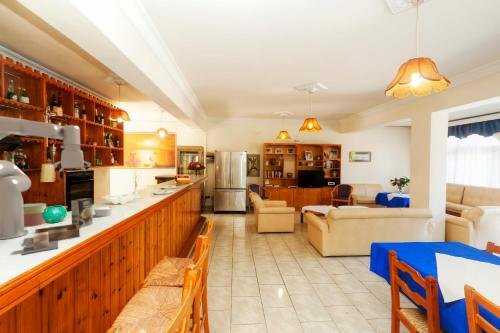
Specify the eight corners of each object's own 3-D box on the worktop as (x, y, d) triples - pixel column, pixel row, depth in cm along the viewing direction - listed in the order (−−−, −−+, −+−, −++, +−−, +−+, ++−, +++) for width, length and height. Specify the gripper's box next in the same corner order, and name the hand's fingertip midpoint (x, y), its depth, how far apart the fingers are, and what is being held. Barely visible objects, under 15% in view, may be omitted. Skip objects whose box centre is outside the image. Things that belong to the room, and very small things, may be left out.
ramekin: (115, 215, 177) (114, 207, 177) (97, 218, 169) (97, 210, 169) (109, 212, 185) (109, 205, 184) (92, 215, 176) (92, 208, 176)
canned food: (26, 223, 156) (25, 204, 156) (48, 220, 162) (48, 202, 161) (19, 227, 146) (19, 207, 146) (44, 225, 152) (43, 205, 151)
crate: (34, 244, 119) (33, 236, 119) (36, 236, 130) (35, 229, 130) (79, 236, 130) (79, 229, 130) (77, 230, 141) (77, 223, 141)
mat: (22, 255, 106) (22, 253, 106) (25, 246, 116) (25, 245, 116) (58, 248, 114) (58, 247, 114) (57, 241, 123) (57, 240, 123)
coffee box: (80, 228, 146) (79, 200, 145) (71, 227, 147) (70, 200, 146) (93, 223, 155) (92, 198, 154) (84, 223, 156) (83, 197, 155)
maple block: (33, 249, 111) (33, 236, 111) (34, 246, 115) (34, 233, 115) (48, 247, 114) (47, 234, 114) (48, 244, 118) (48, 231, 118)
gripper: (51, 147, 130) (53, 180, 131) (91, 148, 140) (91, 178, 141) (52, 147, 136) (53, 178, 137) (90, 148, 146) (91, 177, 147)
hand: (73, 178), depth 139 cm, fingers open, 9 cm apart
